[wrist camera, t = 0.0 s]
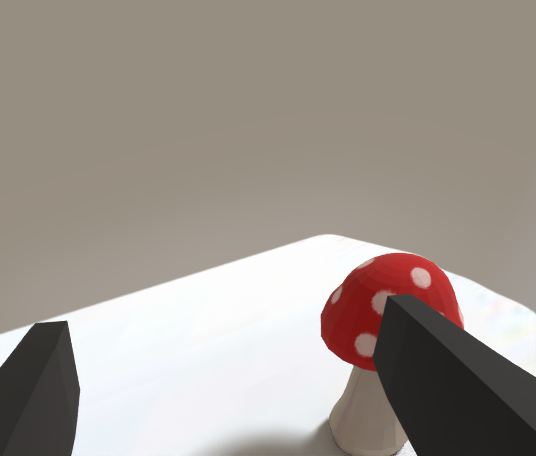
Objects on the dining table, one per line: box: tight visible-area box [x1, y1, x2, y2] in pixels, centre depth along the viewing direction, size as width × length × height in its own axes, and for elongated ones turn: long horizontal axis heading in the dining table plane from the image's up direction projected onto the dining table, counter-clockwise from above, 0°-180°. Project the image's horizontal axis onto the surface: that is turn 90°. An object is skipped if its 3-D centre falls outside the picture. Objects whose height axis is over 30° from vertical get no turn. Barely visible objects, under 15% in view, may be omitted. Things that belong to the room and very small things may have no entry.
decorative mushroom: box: [321, 253, 464, 456], centre depth 33 cm, size 10×9×15 cm
